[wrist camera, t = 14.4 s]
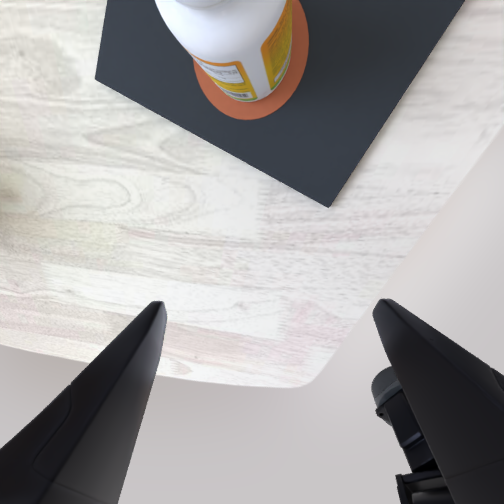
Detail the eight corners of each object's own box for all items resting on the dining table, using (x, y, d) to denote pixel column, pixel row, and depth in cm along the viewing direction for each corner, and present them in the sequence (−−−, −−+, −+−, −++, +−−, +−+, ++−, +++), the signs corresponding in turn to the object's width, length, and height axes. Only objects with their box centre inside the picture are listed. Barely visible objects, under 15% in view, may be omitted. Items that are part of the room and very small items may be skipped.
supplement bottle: (272, -23, 13) (233, -461, 4) (303, 77, 14) (327, -76, 5) (195, 32, 14) (39, -192, 5) (230, 118, 16) (152, 52, 7)
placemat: (508, -70, 11) (519, -82, 11) (327, 207, 17) (329, 208, 17) (160, -281, 11) (153, -305, 10) (99, 81, 17) (93, 78, 16)
